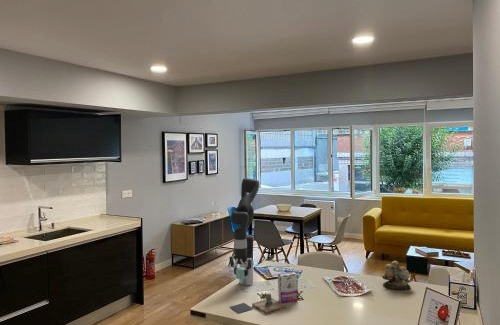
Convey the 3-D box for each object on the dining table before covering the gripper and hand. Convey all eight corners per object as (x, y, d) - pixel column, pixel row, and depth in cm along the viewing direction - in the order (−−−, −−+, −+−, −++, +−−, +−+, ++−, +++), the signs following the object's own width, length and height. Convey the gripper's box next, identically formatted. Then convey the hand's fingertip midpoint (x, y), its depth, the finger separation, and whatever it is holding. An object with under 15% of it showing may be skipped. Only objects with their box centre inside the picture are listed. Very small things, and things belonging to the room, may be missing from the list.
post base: (252, 305, 219) (252, 293, 219) (271, 300, 227) (271, 288, 227) (266, 314, 207) (266, 301, 207) (286, 308, 215) (285, 295, 215)
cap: (238, 275, 220) (238, 265, 219) (248, 276, 217) (247, 266, 217) (234, 278, 214) (233, 268, 214) (243, 279, 212) (243, 270, 211)
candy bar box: (295, 297, 230) (294, 271, 229) (298, 300, 225) (297, 274, 225) (277, 300, 227) (277, 273, 226) (280, 303, 222) (280, 276, 222)
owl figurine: (382, 289, 241) (382, 263, 240) (380, 283, 252) (379, 258, 252) (412, 291, 237) (412, 264, 237) (408, 284, 249) (408, 259, 248)
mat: (229, 307, 218) (229, 306, 218) (244, 303, 223) (244, 302, 223) (238, 313, 209) (238, 312, 209) (253, 309, 215) (253, 308, 215)
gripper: (254, 246, 215) (255, 274, 216) (232, 243, 221) (233, 271, 222) (248, 249, 208) (249, 279, 209) (226, 246, 215) (226, 275, 215)
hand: (240, 275), depth 216 cm, fingers closed on cap, 6 cm apart
